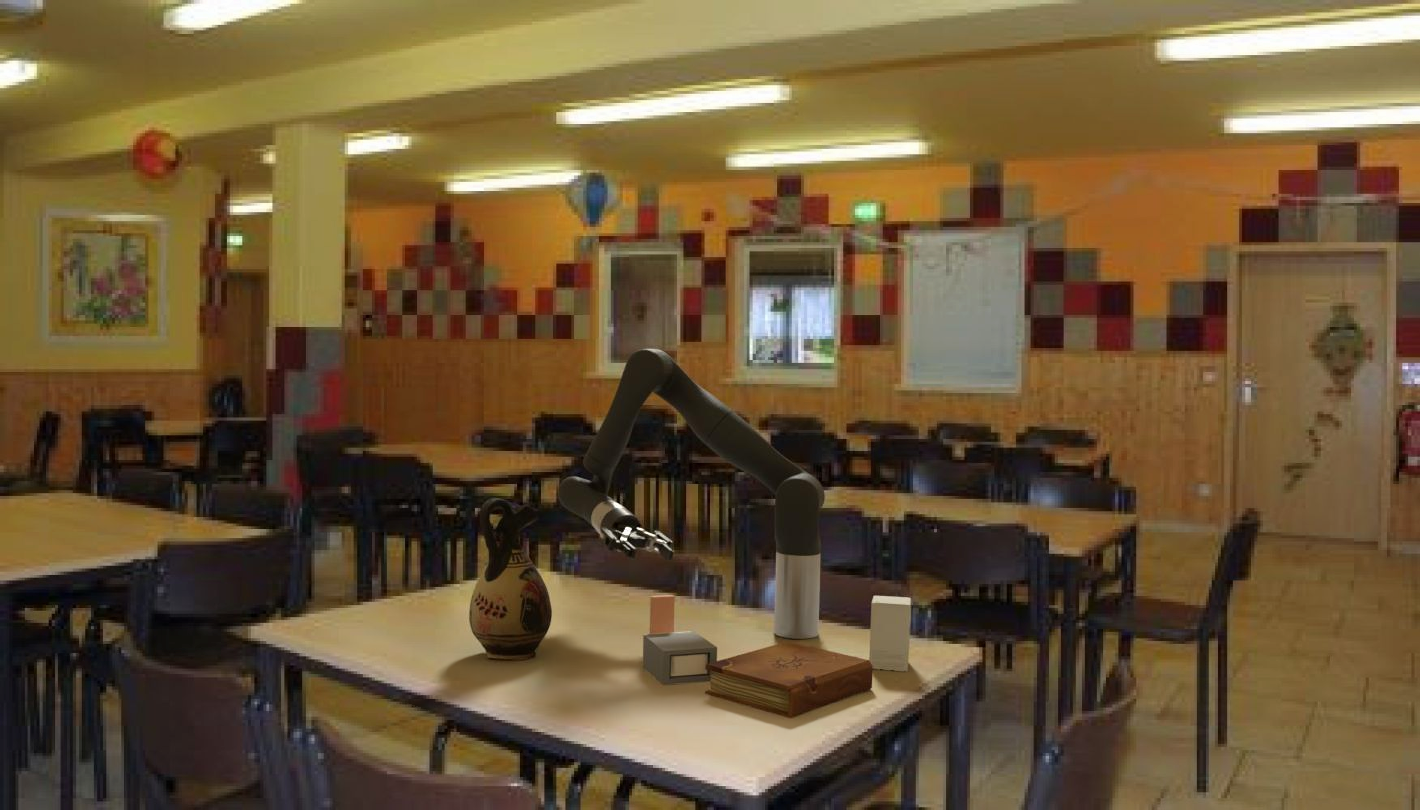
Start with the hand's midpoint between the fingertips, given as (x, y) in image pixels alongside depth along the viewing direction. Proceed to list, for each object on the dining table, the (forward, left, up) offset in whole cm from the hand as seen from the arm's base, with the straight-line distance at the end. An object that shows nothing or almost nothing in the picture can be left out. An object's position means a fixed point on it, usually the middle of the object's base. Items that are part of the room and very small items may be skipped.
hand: (652, 555), depth 228 cm
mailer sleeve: (+14, +13, -18) cm, 26 cm away
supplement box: (-11, +45, -19) cm, 50 cm away
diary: (+14, +35, -19) cm, 42 cm away
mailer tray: (+12, +11, -18) cm, 24 cm away
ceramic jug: (+19, -21, -19) cm, 34 cm away
